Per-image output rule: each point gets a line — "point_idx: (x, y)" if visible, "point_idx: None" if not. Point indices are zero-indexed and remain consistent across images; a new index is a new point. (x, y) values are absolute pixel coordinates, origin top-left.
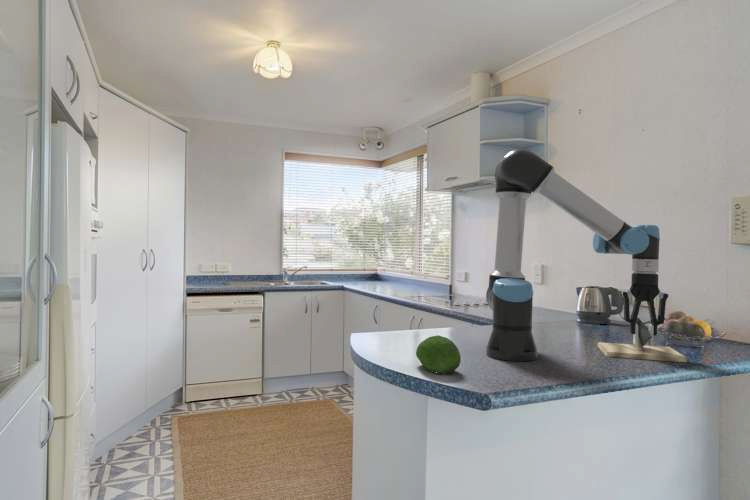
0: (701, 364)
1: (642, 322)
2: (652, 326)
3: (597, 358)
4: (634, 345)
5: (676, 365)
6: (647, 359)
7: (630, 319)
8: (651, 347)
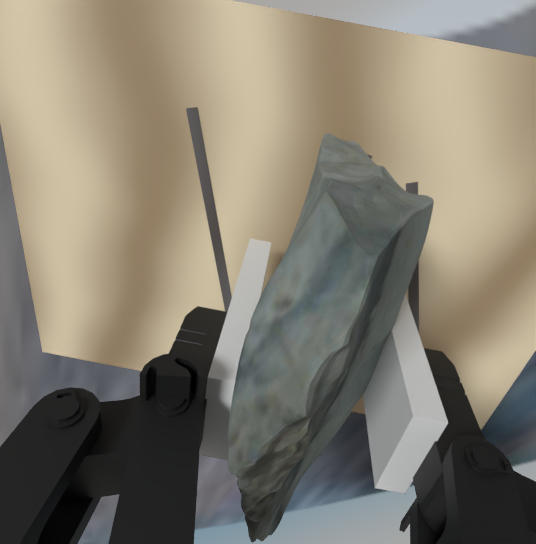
0: (520, 437)
1: (250, 538)
2: (390, 483)
3: (10, 370)
4: (330, 78)
5: (359, 455)
6: None
7: (111, 492)
8: (457, 159)
